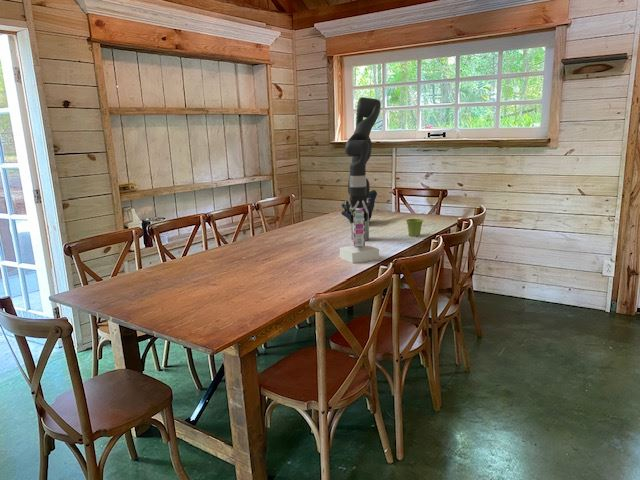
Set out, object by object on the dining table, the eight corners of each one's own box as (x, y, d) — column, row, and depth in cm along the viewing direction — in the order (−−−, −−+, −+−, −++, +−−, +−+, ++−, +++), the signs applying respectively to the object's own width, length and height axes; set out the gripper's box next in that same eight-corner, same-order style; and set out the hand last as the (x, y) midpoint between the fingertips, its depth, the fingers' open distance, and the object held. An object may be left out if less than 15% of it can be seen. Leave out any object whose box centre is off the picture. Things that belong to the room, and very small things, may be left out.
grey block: (339, 258, 222) (339, 247, 220) (365, 254, 227) (365, 244, 226) (352, 264, 211) (352, 253, 210) (379, 259, 217) (378, 249, 216)
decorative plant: (349, 240, 297) (347, 219, 324) (387, 224, 292) (382, 204, 318) (335, 213, 288) (334, 194, 315) (374, 196, 283) (370, 178, 309)
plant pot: (424, 234, 264) (425, 218, 262) (420, 237, 256) (421, 222, 254) (408, 233, 268) (408, 218, 266) (404, 236, 260) (404, 221, 258)
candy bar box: (365, 247, 212) (364, 211, 208) (354, 247, 212) (353, 212, 209) (363, 241, 223) (362, 207, 219) (353, 242, 223) (352, 208, 219)
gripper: (367, 183, 218) (367, 219, 222) (339, 186, 212) (340, 222, 216) (376, 184, 211) (376, 221, 215) (347, 187, 205) (348, 225, 209)
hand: (358, 221), depth 215 cm, fingers closed on candy bar box, 6 cm apart
